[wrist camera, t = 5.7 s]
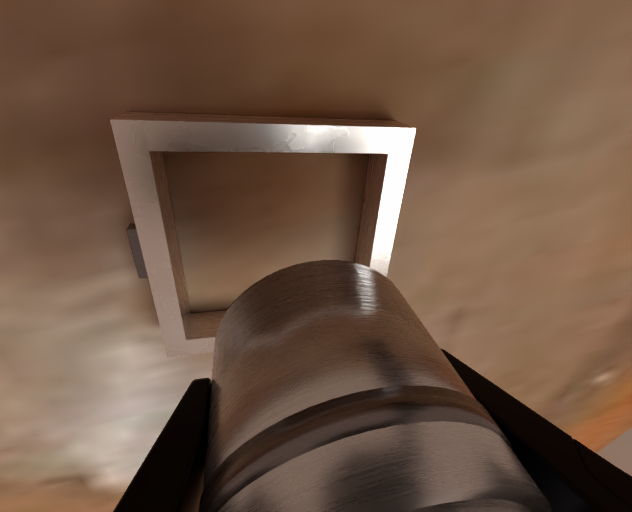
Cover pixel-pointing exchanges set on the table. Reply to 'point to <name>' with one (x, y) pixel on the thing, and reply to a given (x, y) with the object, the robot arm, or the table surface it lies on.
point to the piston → (347, 407)
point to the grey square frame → (244, 136)
